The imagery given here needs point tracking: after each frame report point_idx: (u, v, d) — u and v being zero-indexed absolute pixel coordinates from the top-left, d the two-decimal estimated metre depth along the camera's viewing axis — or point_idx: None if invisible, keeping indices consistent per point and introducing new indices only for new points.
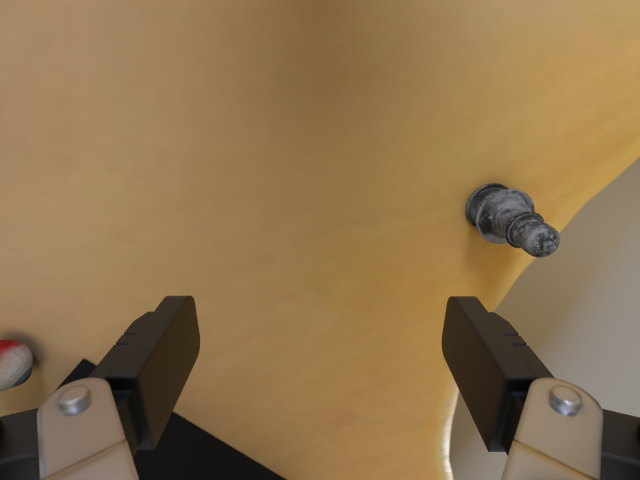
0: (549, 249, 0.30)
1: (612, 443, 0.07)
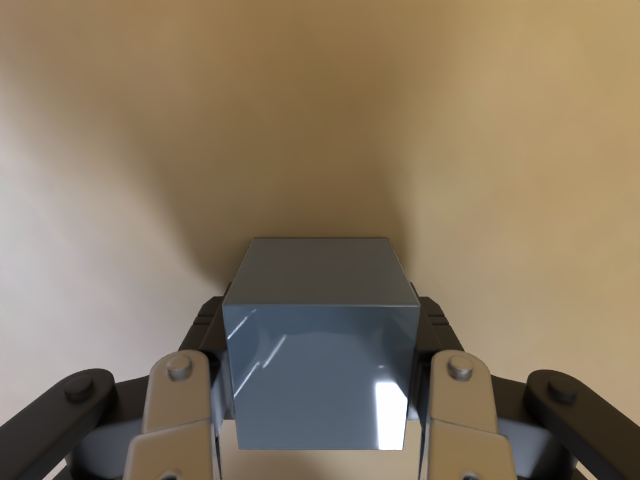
0: None
1: (498, 405, 0.08)
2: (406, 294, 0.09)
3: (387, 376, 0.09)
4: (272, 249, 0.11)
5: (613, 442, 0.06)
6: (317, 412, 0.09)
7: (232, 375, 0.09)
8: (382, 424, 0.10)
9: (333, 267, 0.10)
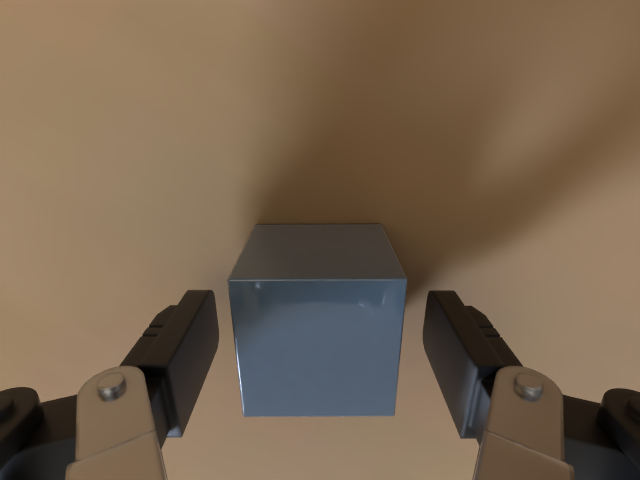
0: None
1: (572, 427, 0.07)
2: (395, 270, 0.09)
3: (379, 346, 0.10)
4: (273, 233, 0.12)
5: None
6: (315, 380, 0.10)
7: (236, 346, 0.10)
8: (374, 391, 0.10)
9: (329, 248, 0.11)
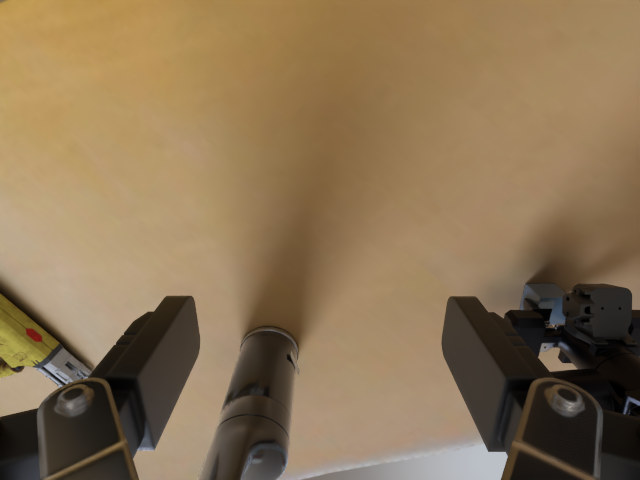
0: None
1: (612, 443, 0.07)
2: None
3: None
4: (534, 286, 0.55)
5: None
6: None
7: None
8: (561, 318, 0.53)
9: (550, 290, 0.54)
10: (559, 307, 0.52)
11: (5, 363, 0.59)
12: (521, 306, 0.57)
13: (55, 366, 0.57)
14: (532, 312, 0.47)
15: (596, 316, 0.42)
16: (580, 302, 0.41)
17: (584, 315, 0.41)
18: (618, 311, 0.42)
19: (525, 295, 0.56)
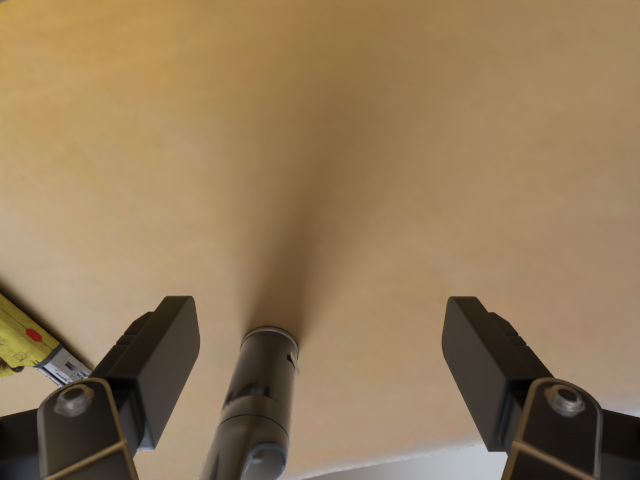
0: None
1: (612, 443, 0.07)
2: None
3: None
4: None
5: None
6: None
7: None
8: None
9: None
10: None
11: (5, 363, 0.59)
12: None
13: (55, 366, 0.57)
14: None
15: None
16: None
17: None
18: None
19: None
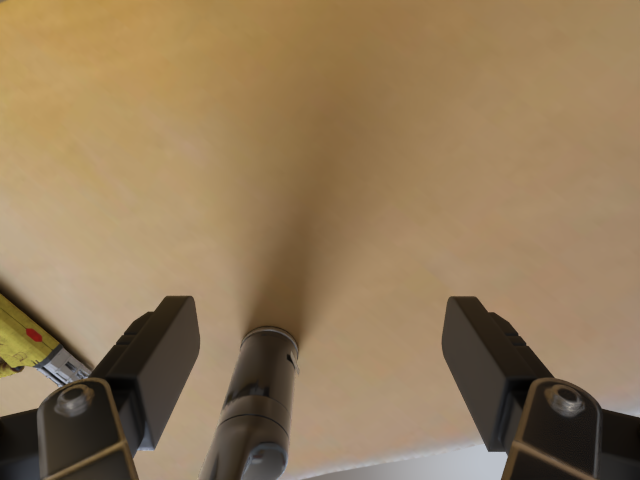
0: None
1: (612, 443, 0.07)
2: None
3: None
4: None
5: None
6: None
7: None
8: None
9: None
10: None
11: (5, 363, 0.59)
12: None
13: (55, 366, 0.57)
14: None
15: None
16: None
17: None
18: None
19: None
